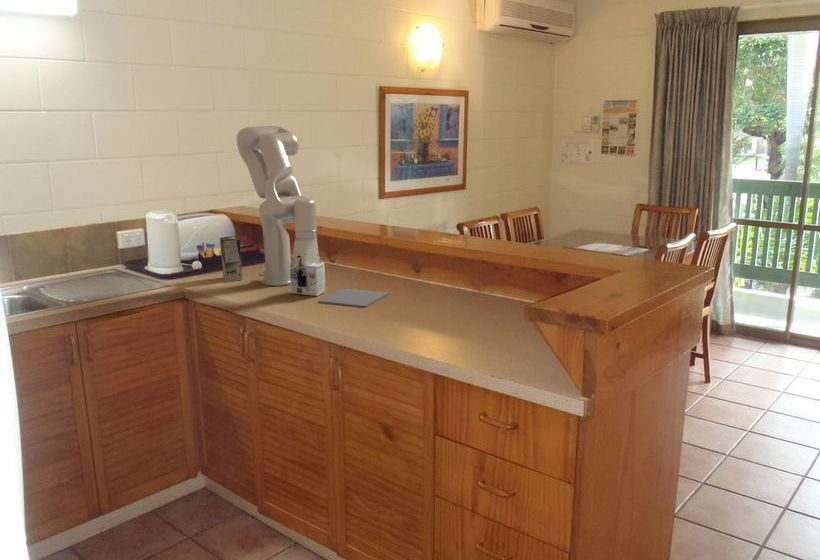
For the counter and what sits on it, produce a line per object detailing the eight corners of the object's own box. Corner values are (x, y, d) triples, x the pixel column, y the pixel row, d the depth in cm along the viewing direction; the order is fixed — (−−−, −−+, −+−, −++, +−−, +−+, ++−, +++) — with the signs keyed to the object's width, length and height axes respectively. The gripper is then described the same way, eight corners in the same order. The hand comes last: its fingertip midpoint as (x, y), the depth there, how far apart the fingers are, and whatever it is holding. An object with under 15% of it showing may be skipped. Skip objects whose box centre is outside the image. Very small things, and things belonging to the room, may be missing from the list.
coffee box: (243, 280, 265) (240, 239, 261) (226, 281, 263) (223, 240, 259) (238, 275, 273) (235, 235, 270) (222, 277, 271) (219, 237, 267)
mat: (318, 302, 232) (318, 300, 232) (343, 289, 248) (343, 288, 248) (365, 307, 225) (365, 305, 225) (388, 294, 241) (388, 292, 241)
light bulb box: (290, 293, 242) (289, 264, 239) (299, 288, 248) (298, 259, 246) (317, 296, 239) (316, 266, 236) (326, 291, 245) (325, 262, 242)
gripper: (309, 229, 247) (311, 277, 252) (282, 238, 232) (285, 288, 236) (327, 231, 245) (329, 279, 249) (301, 239, 229) (304, 291, 234)
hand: (308, 283), depth 243 cm, fingers closed on light bulb box, 7 cm apart
